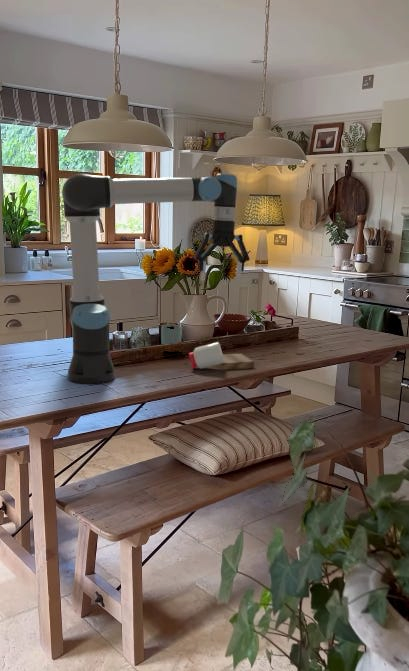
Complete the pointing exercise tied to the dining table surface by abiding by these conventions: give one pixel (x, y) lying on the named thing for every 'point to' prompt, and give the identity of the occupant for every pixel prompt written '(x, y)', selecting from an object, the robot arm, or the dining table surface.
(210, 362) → the pill bottle
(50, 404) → the dining table surface
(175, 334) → the pale green box
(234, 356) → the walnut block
